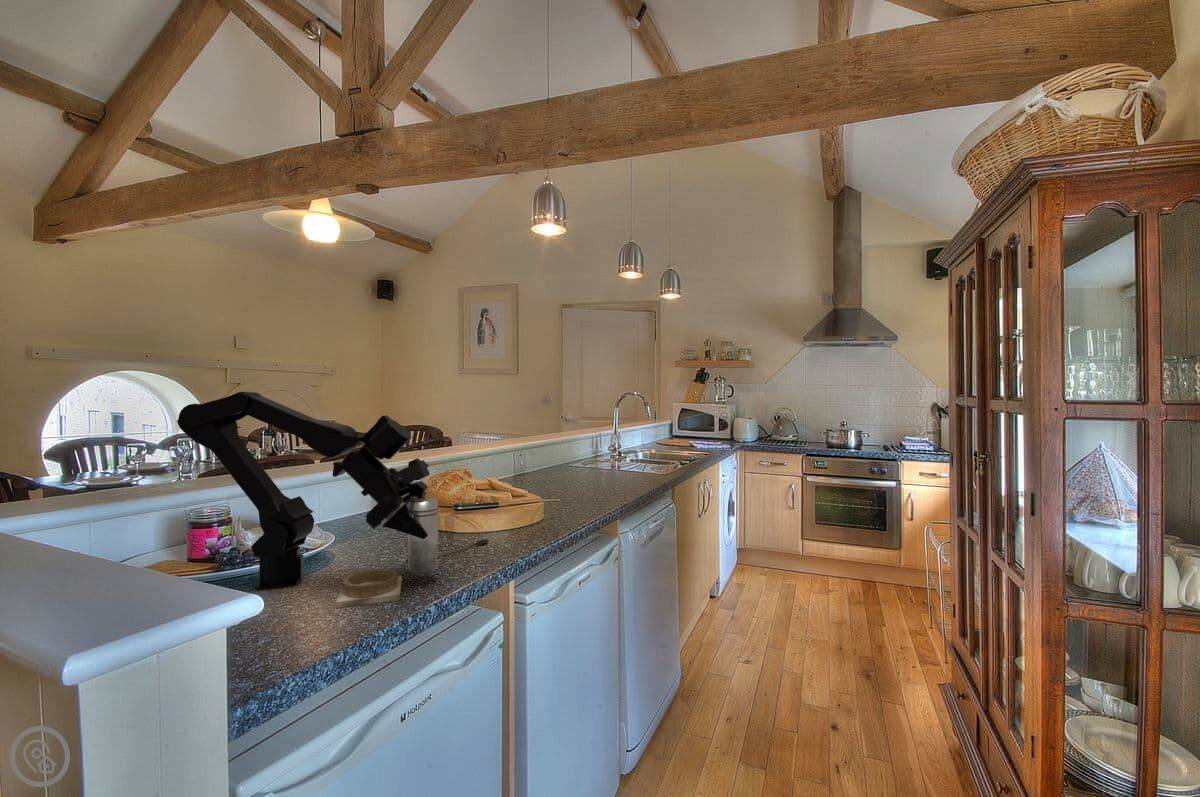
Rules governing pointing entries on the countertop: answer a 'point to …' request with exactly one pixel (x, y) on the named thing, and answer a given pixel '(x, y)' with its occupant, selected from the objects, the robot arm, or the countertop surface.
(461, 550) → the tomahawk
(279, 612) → the countertop surface
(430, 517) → the salt shaker
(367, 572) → the ring collar
